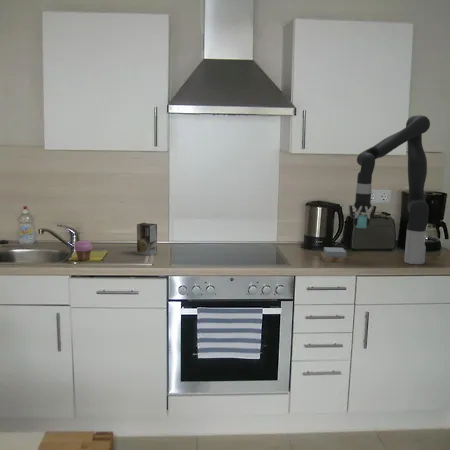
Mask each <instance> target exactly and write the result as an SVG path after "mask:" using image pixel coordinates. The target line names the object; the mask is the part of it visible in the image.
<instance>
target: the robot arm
mask: <svg viewBox="0 0 450 450" xmlns="http://www.w3.org/2000/svg"><path fill="white" fill-rule="evenodd" d="M430 127H431V122H430V119H429V117H427V116H425V115H420V114H419V115H413V116H410V117H409V118H408V119H407V121H406V124H405V127H404V128H403V129H401V130H399V131H398V132H396V133H394V134H391V135H389V136H387V137H385V138H384V139H382V140H381V141H379V142H378V143H376V144H375V145H373V146H371V147H369V148H367V149H366V150H365V149H364V150H363V151H361V152H360V153H359V154H358V155H357V158H356V162H357V164H358V165H359V166H360V171H359V172H358V173H357V176H356V177H357V182H356V187H355V200H354V204H349V205H348V210H349V211H348V212H349V216H350V217H351V218H353V225H354V226H355V227H356V226H357V216H358V215H360V213H364V214H365V215H366V216H367V226H366V227H368V226H369V225H370V222H371V221H370V219H372V218H374V217H375V214H376V210H377V206H376V205H372V204H371V201H372V192H373V191H372V189H373V187H372V180H373V173H374V169H375V166H376V160H377V159H381V158H383V157H385V156H387V155H388V154H389V153H390V152H392V151H394V150H395V149H396V148H398V147H400V146H401V145H403V144H405V143H406V142H407V181H408V197H407V198H408V200H407V211H408V213H409V215H408V222H407V226H406V236H405V249H404V260H403V261H404V263H406V264H408V265H409V264H411V265H424V264H425V263H426V262H425V261H426V249H427V248H426V247H427V246H426V244H425V243H426V231H427V227H428V222H429V215H430V214H429V213H430V210H429V209H430V208H429V207H430V206H429V204H428V203H427V202H426V201H425V192H424V190H425V184H426V179H427V175H428V174H427V173H428V161H427V160H428V159H427V156H426V153H425V150H424V147H423V141H422V140H423V139H422V137H423V134H424V133H426V132H427V131H428V130H429V129H430ZM354 208H355V211H354ZM370 209H371V210H370ZM369 210H370V212H369Z"/></svg>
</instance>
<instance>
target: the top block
mask: <svg viewBox="0 0 450 450" xmlns="http://www.w3.org/2000/svg"><path fill="white" fill-rule="evenodd" d="M323 252H324V254H325V256H326V257H341V258H346V257H347V251H346V250H345V249H344V247H328V246H325V247H323Z"/></svg>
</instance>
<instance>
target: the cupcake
mask: <svg viewBox="0 0 450 450" xmlns="http://www.w3.org/2000/svg"><path fill="white" fill-rule="evenodd" d="M73 247H74V248H73V249H74V251H75V253H76V255H77V259H78V260H79V261H83V262H84V261H87V260H90V259H91V252H92V250H93V249H94V248H93V245H92V243H91V242H90V241H88V240H79V241H76V242H75V243H74V246H73Z"/></svg>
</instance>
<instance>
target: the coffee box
mask: <svg viewBox="0 0 450 450" xmlns="http://www.w3.org/2000/svg"><path fill="white" fill-rule="evenodd" d="M136 254H137V255H144V256H154V255H157V254H158V224H157V223H150V222H149V223H148V222H141V223H138V224H137V223H136Z"/></svg>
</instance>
